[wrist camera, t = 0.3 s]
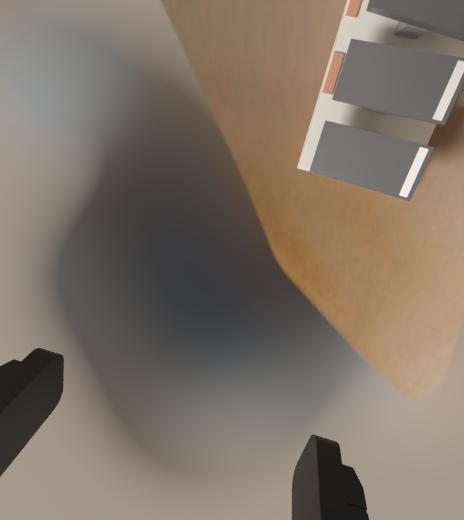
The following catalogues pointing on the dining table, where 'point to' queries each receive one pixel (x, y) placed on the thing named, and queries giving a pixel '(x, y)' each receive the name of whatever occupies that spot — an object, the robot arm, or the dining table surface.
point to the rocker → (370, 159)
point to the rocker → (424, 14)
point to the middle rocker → (400, 81)
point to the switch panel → (378, 31)
